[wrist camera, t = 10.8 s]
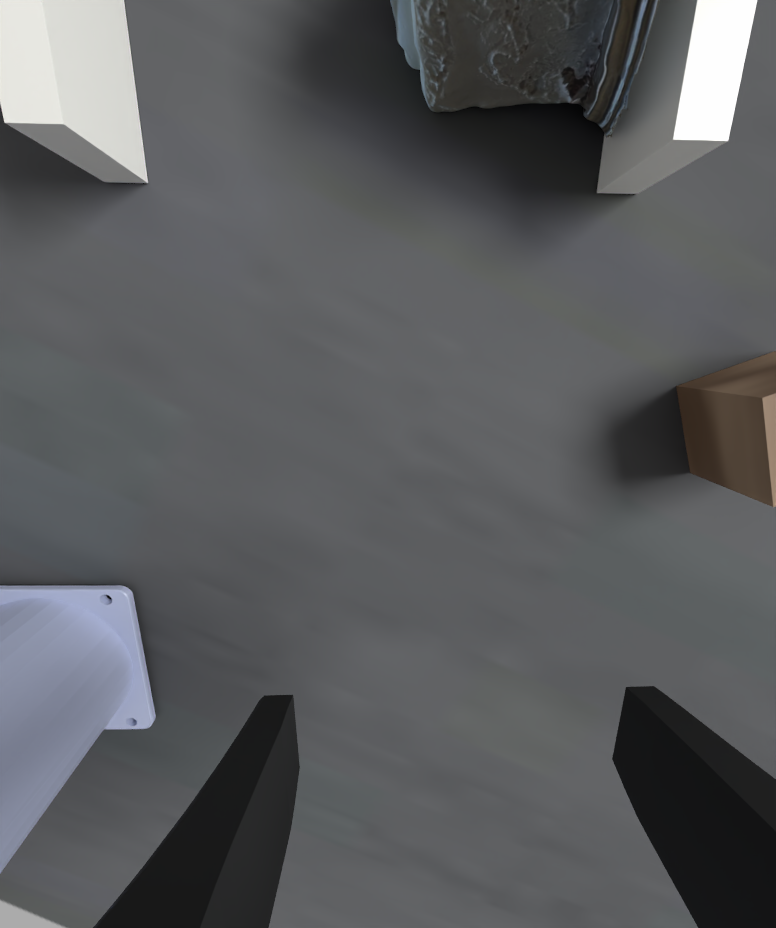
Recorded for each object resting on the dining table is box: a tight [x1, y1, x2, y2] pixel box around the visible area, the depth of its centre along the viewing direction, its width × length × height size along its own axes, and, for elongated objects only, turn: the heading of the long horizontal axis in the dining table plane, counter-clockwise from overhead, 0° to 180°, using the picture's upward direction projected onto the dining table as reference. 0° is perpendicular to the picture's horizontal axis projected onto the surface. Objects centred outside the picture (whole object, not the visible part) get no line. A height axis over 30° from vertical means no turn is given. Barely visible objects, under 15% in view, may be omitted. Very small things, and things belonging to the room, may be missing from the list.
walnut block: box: [676, 351, 776, 507], centre depth 15 cm, size 4×4×4 cm
